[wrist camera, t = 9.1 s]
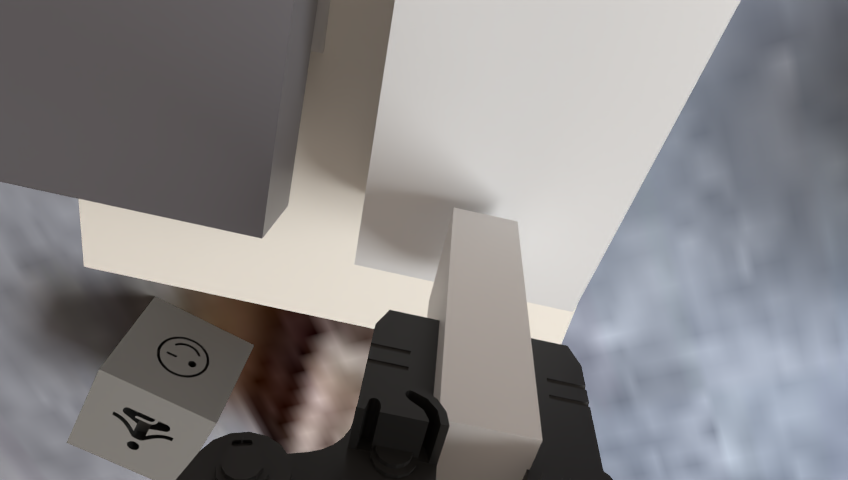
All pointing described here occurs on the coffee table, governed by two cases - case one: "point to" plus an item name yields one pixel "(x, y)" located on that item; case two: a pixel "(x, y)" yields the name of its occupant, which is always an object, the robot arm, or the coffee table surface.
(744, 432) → the coffee table surface
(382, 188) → the block
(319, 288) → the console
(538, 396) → the robot arm
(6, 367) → the coffee table surface
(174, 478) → the dice cube
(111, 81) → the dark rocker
